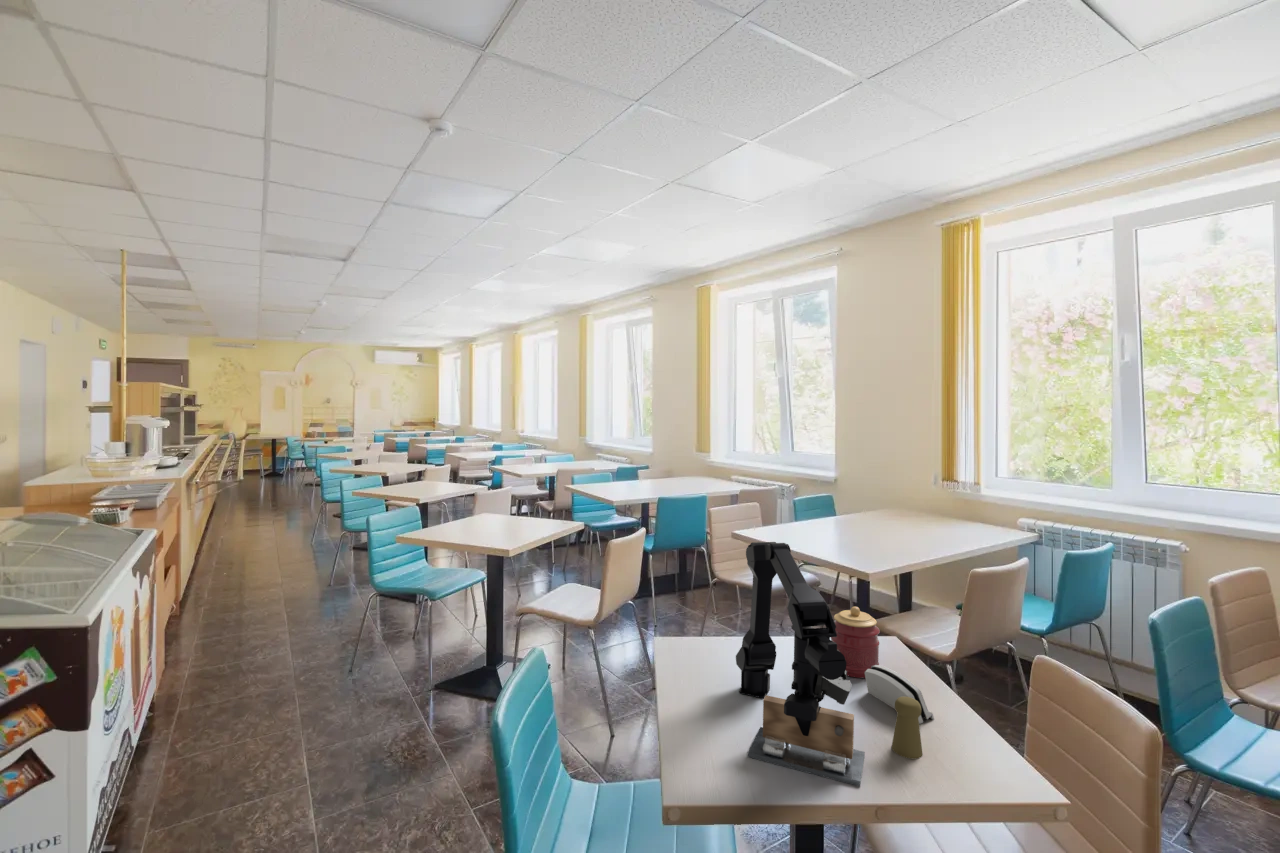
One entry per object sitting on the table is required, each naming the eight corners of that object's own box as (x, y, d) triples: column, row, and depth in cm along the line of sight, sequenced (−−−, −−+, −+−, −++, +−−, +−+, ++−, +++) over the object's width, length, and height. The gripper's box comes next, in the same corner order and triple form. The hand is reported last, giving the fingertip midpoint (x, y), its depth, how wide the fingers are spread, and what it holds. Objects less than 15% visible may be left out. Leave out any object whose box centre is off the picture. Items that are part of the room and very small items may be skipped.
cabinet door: (761, 739, 124) (762, 702, 124) (765, 731, 127) (766, 695, 127) (851, 762, 116) (852, 722, 116) (853, 753, 119) (854, 714, 119)
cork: (886, 743, 128) (887, 693, 128) (912, 742, 128) (913, 692, 128) (900, 759, 122) (902, 706, 122) (928, 758, 122) (929, 706, 122)
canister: (838, 655, 174) (839, 596, 174) (884, 667, 167) (885, 605, 166) (823, 670, 164) (824, 608, 164) (871, 683, 156) (873, 618, 156)
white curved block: (935, 720, 138) (925, 682, 136) (921, 730, 136) (911, 692, 135) (882, 688, 153) (873, 655, 152) (869, 697, 152) (859, 663, 150)
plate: (747, 756, 122) (748, 740, 122) (760, 731, 132) (760, 715, 132) (860, 786, 113) (860, 768, 112) (864, 756, 122) (864, 740, 122)
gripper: (843, 684, 110) (842, 766, 110) (853, 649, 127) (851, 720, 127) (784, 672, 115) (782, 751, 115) (800, 640, 132) (799, 708, 132)
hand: (806, 732), depth 122 cm, fingers closed on cabinet door, 2 cm apart
